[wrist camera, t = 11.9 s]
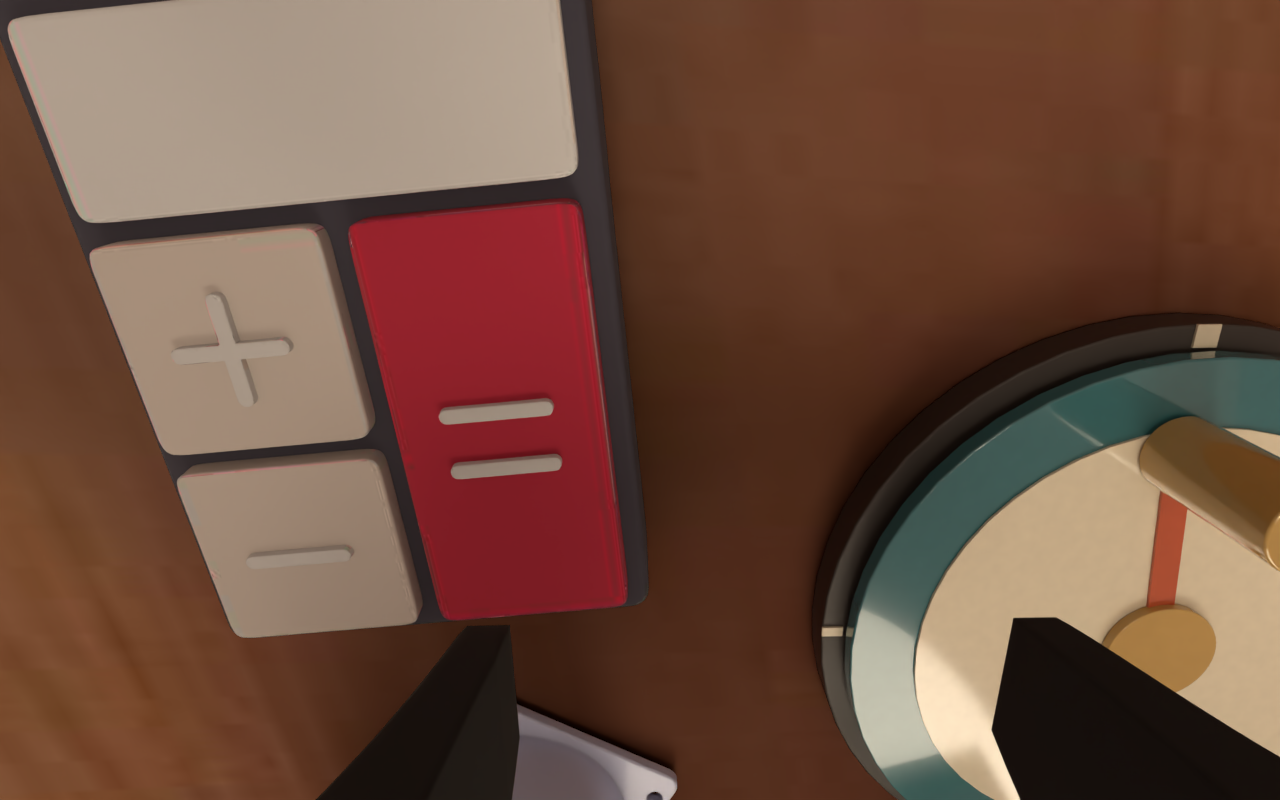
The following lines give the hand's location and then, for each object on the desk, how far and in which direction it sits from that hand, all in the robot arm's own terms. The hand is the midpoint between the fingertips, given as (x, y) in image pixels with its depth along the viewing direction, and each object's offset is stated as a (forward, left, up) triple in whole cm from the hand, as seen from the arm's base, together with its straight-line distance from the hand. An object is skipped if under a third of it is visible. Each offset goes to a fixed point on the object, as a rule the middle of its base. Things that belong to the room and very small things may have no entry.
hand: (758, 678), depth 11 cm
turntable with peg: (+1, -14, -9) cm, 17 cm away
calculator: (-1, +8, -11) cm, 13 cm away
